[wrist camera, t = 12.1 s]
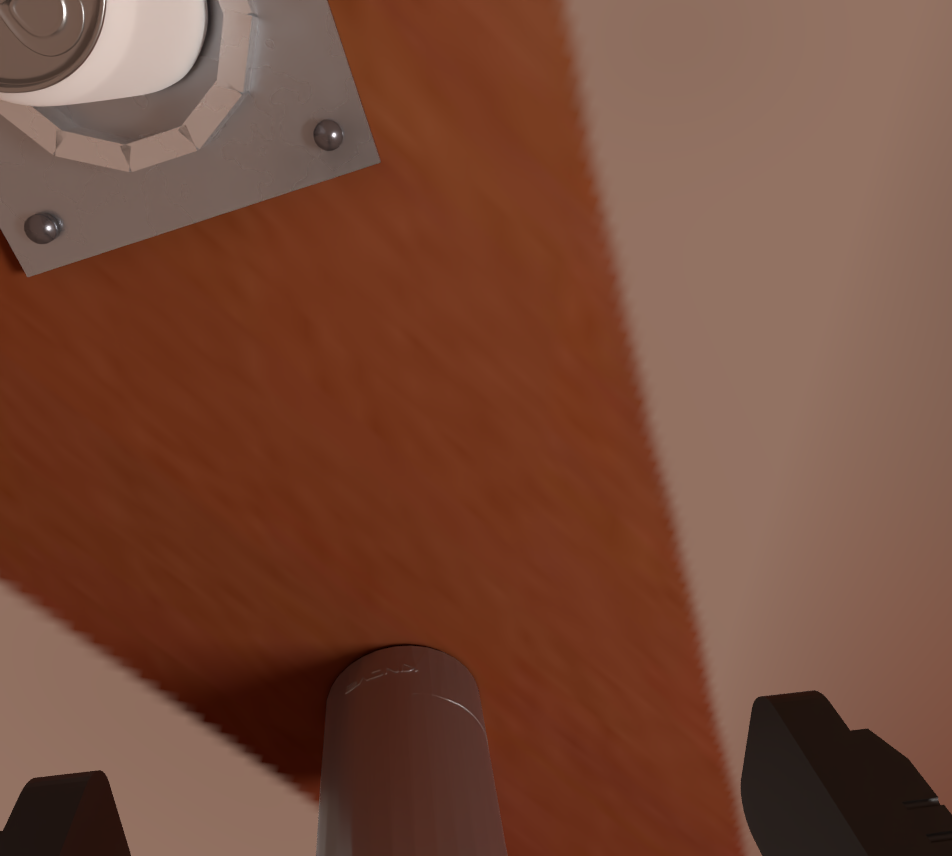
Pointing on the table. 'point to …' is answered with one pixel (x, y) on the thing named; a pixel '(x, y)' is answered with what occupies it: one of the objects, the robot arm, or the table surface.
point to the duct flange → (186, 138)
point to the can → (96, 48)
